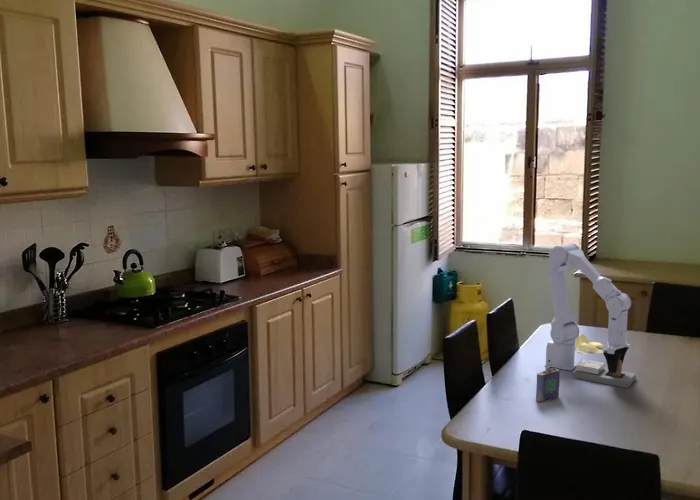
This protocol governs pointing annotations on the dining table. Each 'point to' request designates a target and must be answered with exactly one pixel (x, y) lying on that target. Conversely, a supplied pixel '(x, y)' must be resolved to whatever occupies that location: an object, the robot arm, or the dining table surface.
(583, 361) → the sliding cover
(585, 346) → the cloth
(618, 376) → the pin
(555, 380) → the flask
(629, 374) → the grey flat frame
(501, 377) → the dining table surface
